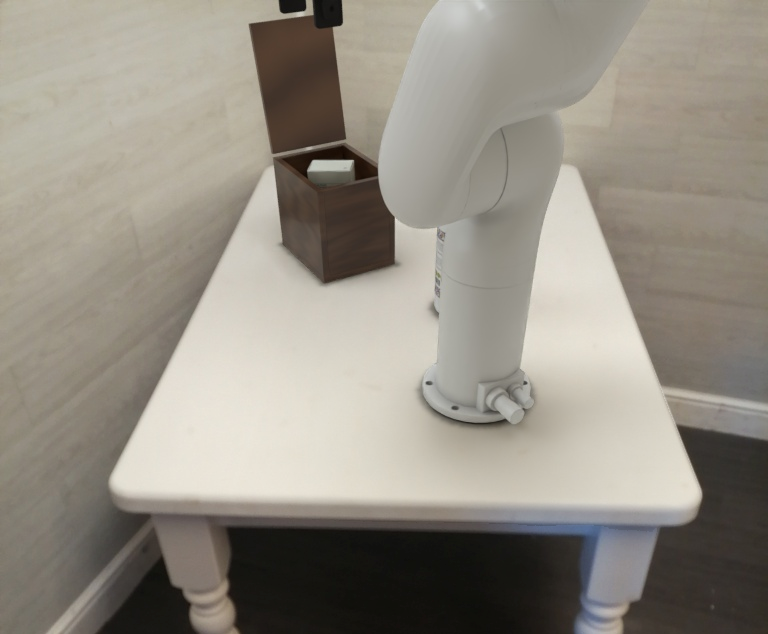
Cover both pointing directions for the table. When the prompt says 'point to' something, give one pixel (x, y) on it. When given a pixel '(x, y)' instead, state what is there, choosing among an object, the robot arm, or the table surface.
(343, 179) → the cosmetic box
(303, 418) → the table surface
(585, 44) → the robot arm
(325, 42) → the lid
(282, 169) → the chest
